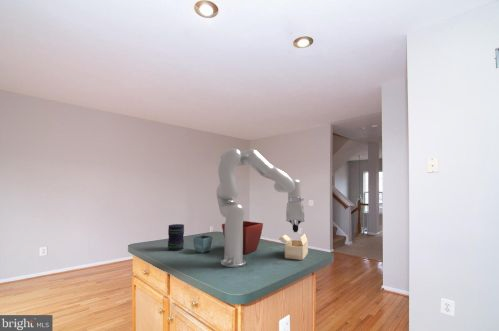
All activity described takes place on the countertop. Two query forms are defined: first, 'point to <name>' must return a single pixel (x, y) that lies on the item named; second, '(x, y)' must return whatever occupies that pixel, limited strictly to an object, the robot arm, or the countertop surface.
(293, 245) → the carton
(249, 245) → the plant pot
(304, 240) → the flap right
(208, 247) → the flower pot
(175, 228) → the storage jar
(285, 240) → the flap left
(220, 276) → the countertop surface
